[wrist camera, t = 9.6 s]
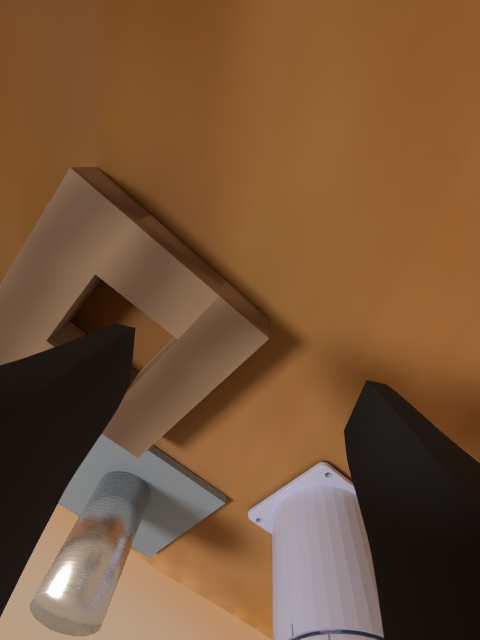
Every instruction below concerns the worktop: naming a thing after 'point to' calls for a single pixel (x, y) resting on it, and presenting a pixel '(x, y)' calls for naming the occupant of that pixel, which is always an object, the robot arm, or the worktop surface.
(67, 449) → the robot arm
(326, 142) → the worktop surface
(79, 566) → the plug
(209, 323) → the bore block
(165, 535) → the mat
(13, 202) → the worktop surface
